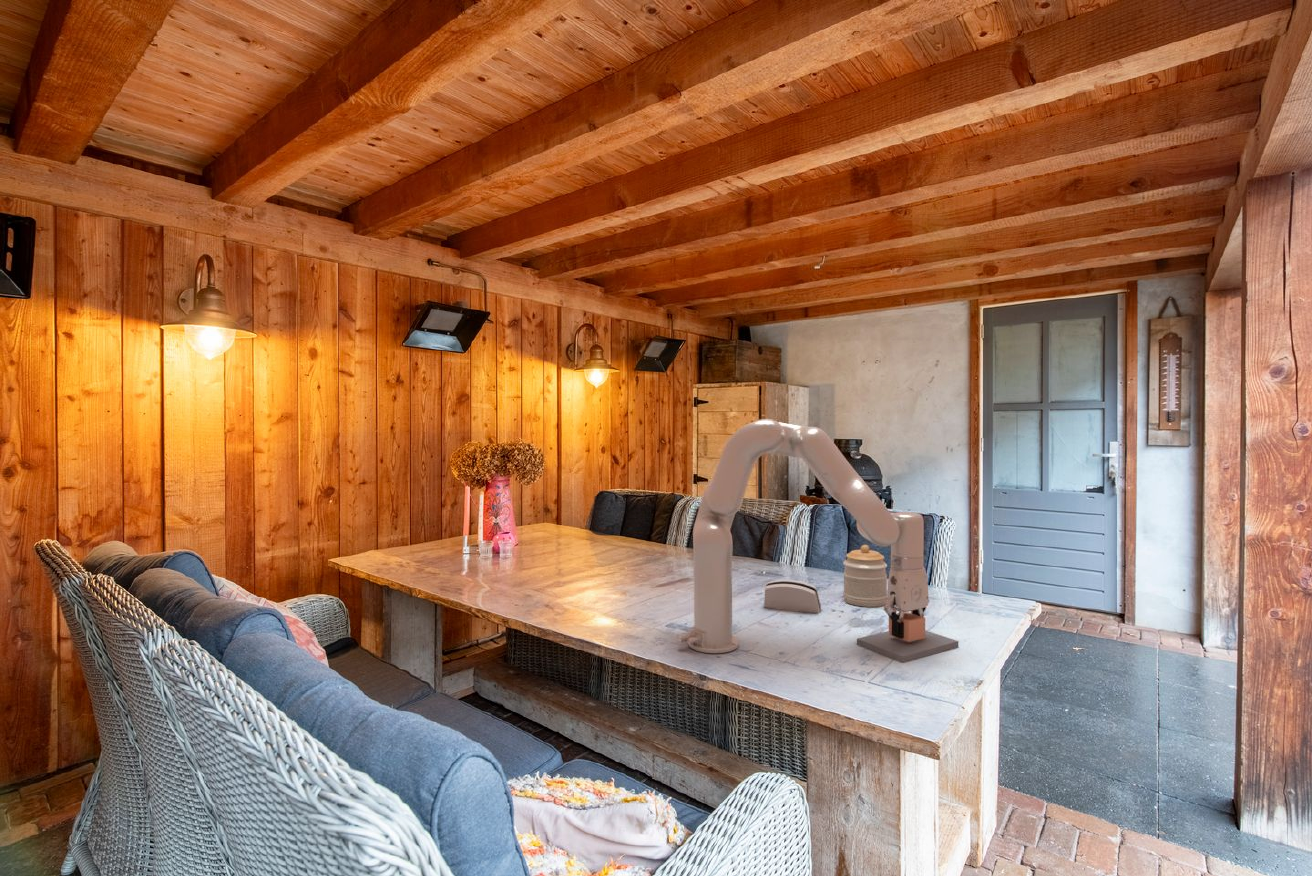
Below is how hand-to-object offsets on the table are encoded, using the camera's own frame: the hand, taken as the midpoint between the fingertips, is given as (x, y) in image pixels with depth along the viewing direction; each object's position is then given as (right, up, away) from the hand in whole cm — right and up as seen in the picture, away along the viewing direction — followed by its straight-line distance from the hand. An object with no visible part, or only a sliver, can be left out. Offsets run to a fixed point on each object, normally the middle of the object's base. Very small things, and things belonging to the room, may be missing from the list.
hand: (906, 634), depth 159 cm
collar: (0, -1, 0) cm, 1 cm away
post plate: (0, -3, 0) cm, 3 cm away
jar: (+2, -2, +39) cm, 39 cm away
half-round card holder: (-22, -3, +32) cm, 39 cm away
